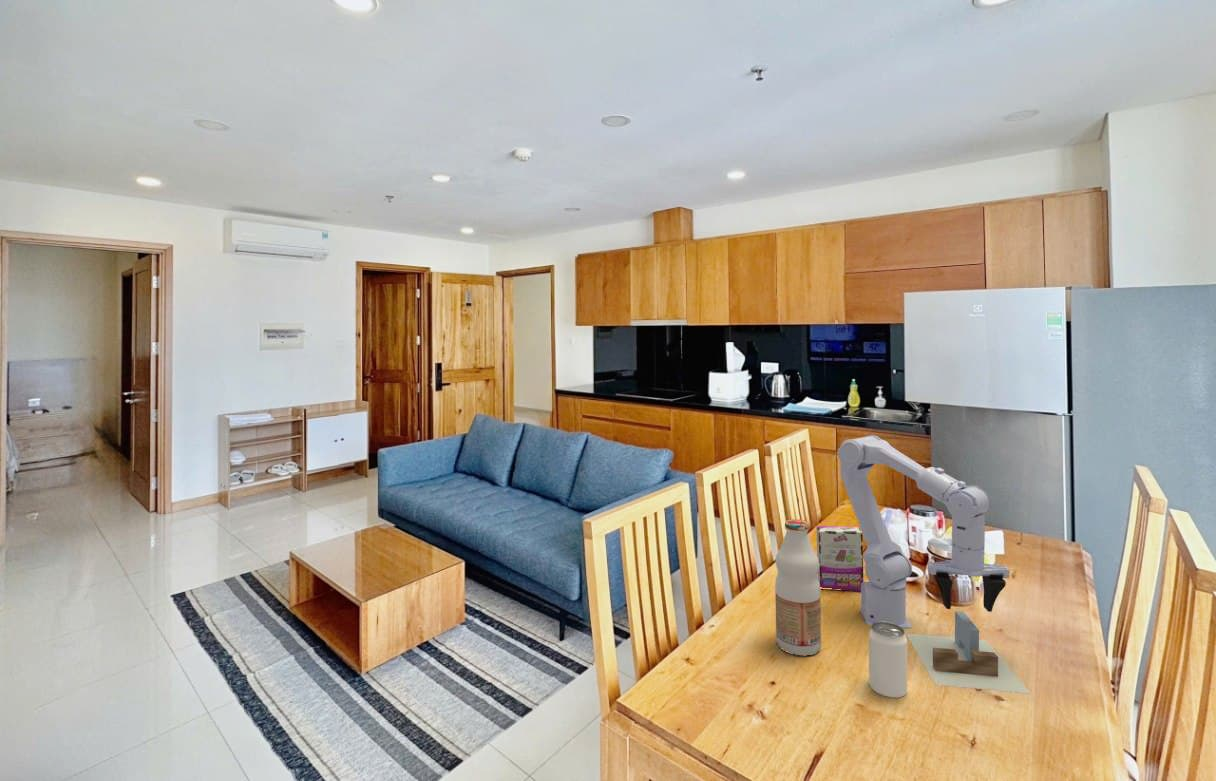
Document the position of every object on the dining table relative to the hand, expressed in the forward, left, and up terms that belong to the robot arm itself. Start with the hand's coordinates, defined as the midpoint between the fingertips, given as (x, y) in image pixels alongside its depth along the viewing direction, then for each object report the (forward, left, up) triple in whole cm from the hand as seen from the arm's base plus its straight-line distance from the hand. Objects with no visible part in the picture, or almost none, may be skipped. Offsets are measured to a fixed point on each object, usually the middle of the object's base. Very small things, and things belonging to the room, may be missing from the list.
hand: (967, 608), depth 114 cm
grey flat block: (0, 0, -10) cm, 10 cm away
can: (-19, -16, -10) cm, 27 cm away
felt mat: (-2, -4, -10) cm, 11 cm away
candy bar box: (-20, +29, -10) cm, 37 cm away
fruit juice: (-34, -3, -10) cm, 36 cm away
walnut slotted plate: (-3, -8, -10) cm, 13 cm away
